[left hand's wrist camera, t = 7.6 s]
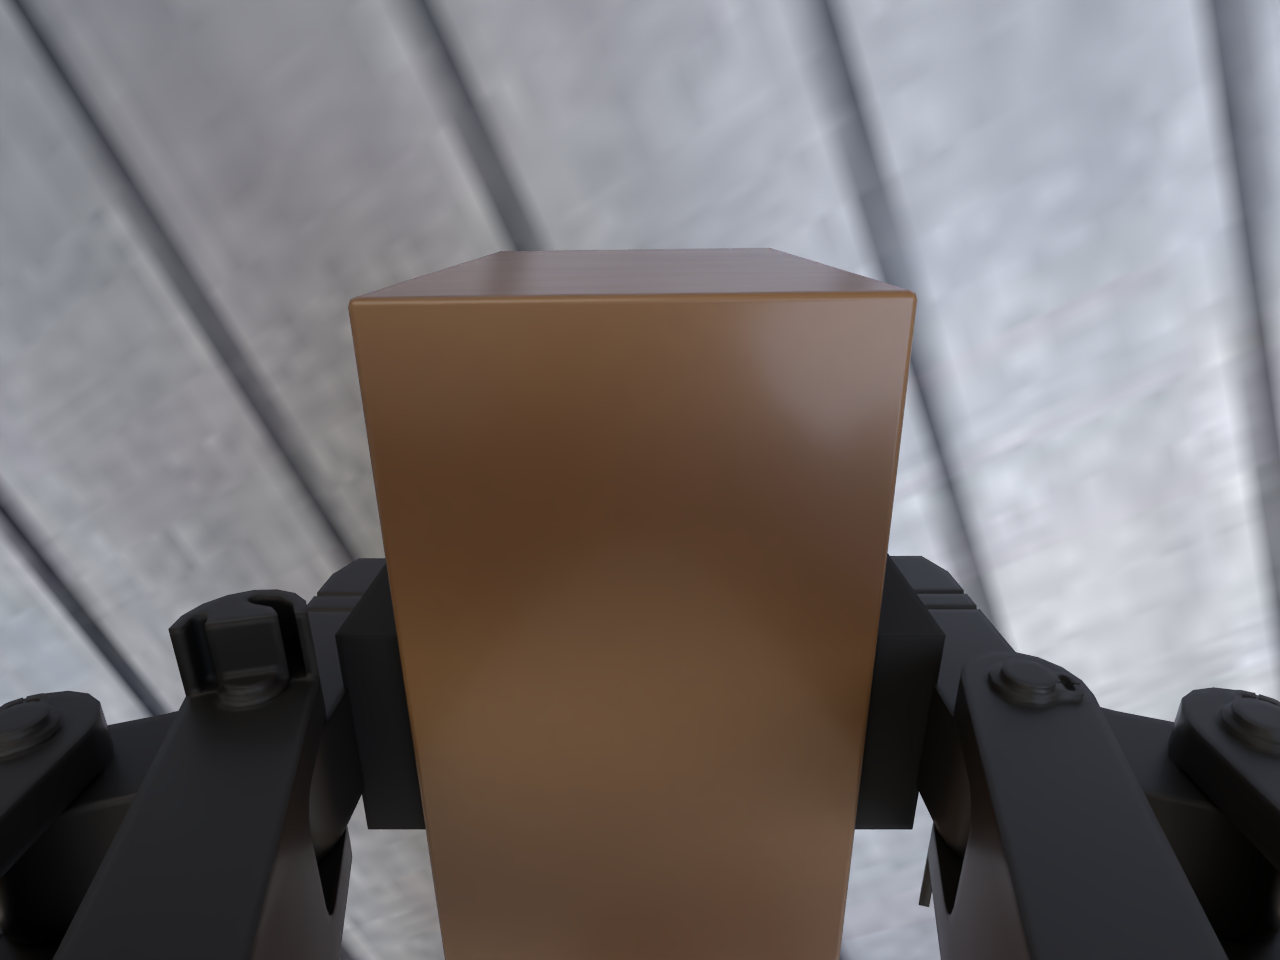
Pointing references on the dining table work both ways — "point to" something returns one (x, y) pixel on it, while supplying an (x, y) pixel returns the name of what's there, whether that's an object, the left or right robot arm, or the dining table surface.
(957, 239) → the dining table surface
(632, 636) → the bar
